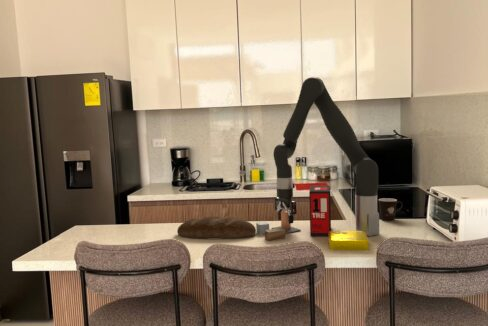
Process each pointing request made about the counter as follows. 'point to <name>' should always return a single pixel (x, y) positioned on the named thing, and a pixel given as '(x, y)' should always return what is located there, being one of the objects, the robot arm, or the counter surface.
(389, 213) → the coffee mug
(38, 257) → the counter surface
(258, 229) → the blue-grey cube
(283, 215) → the terracotta cylinder
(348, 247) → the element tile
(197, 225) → the bread
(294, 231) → the charcoal mat
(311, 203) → the cleaning product box
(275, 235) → the walnut block
